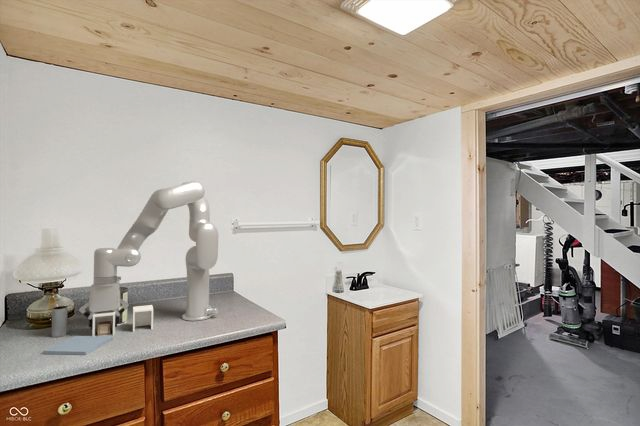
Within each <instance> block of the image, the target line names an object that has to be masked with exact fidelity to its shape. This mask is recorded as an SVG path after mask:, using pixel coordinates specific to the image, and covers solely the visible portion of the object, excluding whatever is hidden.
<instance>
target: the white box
mask: <svg viewBox="0 0 640 426" xmlns="http://www.w3.org/2000/svg"><path fill="white" fill-rule="evenodd" d="M115 315H116V314H115V312H114V311H113V310H111V311H102V312H95V314H93V330H92V335H91V336H96V333H98V323H99V322H106V321H111V331H112V336H114V335H115V334H116V327H115Z"/></svg>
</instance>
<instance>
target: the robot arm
mask: <svg viewBox="0 0 640 426" xmlns="http://www.w3.org/2000/svg"><path fill="white" fill-rule="evenodd" d="M205 190H206V189H205V187H204V185H203V183H200V182H199V181H196V180H192V181H187V182H186V181H185V182H182V183H181V184H178V185H175V186H172V187H167V188H161V189H156V190H155V191H154V192H153V193H152V194H151V196H150V197H149V198H148V200H147V202H146V203H145V205H144V207H143V208H142V211H141V212H140V213H139V215H138V216H137V218H136V220H135V221H134V222H133V224H132V225H131V226H130V228H129V229H128V230H127V232H126V233H125V234H124V237H123V238H122V240H121V241H120V243H119V245H117V248H114V247H102V248H96V249H95V250H94V252H93V253H94V254H93V281H92V282H93V284H91V286H90V290H89V298H88V301H87V302H86V303H85V304H83V306H81V307H80V308H79V309H78V311H79V313H81V314H82V315H83V316H84V317H85V318H87V319H88V328H90V330H91V331H93V314H95V312H102V311H111V310H113V311H114V312H115V314H116V315H115V328H118V326H117V324H119V316H120V315H121V314H122V313H123V312H124V311H125V309H126V308H127V309H128V307H129V306H130V304H129V303H127V302H125V301H124V300H122V299H121V298H120V287H121V286H119V284H120V283H117V281H119V282H120V281H121V280H122V276H118V267H128V268H129V267H134V266H137V264H139V263H140V261H141V260H142V259H141V257H142V256H141V252H140V251H139V249H140V248H141V246H142V245H143V243H144V242H145V241H146V239H148V237H149V236H151V235H153V234H154V233H155V232H156V231H157V230H158V229H159V227H160V225H161V223H162V222H163V220H164V218H165V217H166V216H167V213H168V211H169V210H172V209H175V208H178V207H179V208H180V207H183V206H186V205H187V207H188V209H189V210H188V211H189V221H188V222H189V224H188V225H189V226H188V227H189V228H188V236H189V239H190V240H191V241H192V242H195V246H191V247H190V248H189V249H187V252H186V254H185V267H186V293H185V294H186V296H185V297H186V299H185V300H186V302H185V303H186V307H185V310H186V311H185V312H184V313H183V314H182V315H181V316H182V319H183V320H184V321H193V322H194V321H203V320H204V321H205V320H207V319H210V318H212V317H213V315H217V314H219V309H218V308H216V307H214V308H212V306H211V304H210V270H211V269H212V268H214V267H215V266H216V264H217V261H218V255H219V232H218V228H217V227H216V225H215V224H213V223H211V222H210V219H211V218H210V206H209V203H208V200H207V199H206V197H205V192H206V191H205ZM120 303H121V304H122V305H124V306H123V308H121V309H120V310H118V309H119V307H120ZM87 308H88V311H89V312H88V311H87V310H86V309H87Z"/></svg>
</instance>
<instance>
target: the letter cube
mask: <svg viewBox="0 0 640 426" xmlns="http://www.w3.org/2000/svg"><path fill="white" fill-rule="evenodd" d="M111 332H112V330H111V321H106V322H99V323H98V332H97V336H109V335H111Z"/></svg>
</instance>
